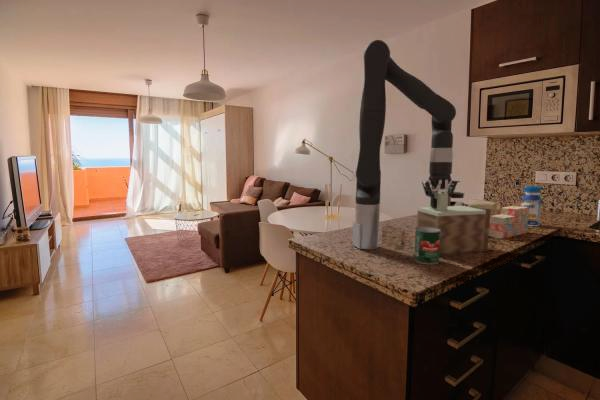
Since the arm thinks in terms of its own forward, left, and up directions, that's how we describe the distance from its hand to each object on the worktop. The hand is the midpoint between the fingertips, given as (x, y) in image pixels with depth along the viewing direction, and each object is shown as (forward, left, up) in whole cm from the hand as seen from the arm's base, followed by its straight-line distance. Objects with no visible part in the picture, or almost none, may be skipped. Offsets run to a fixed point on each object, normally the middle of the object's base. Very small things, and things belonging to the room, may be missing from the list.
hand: (438, 207), depth 120 cm
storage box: (+5, 0, -16) cm, 17 cm away
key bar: (+20, 0, -1) cm, 20 cm away
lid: (+6, 0, -3) cm, 6 cm away
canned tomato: (-11, -9, -17) cm, 22 cm away
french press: (+37, +36, -17) cm, 55 cm away
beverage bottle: (+76, +28, -17) cm, 83 cm away
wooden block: (+25, +24, -17) cm, 39 cm away
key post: (+17, 0, -16) cm, 24 cm away
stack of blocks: (+49, +14, -17) cm, 53 cm away
